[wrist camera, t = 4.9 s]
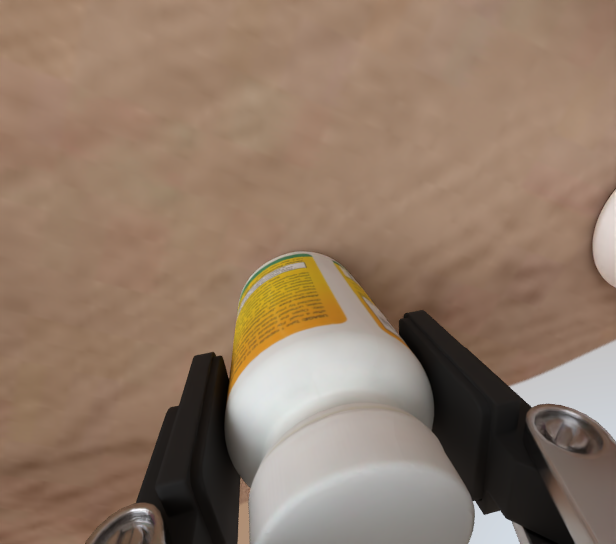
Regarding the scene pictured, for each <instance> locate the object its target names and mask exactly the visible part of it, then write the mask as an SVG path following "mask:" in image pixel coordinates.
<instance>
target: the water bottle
mask: <svg viewBox="0 0 616 544" xmlns="http://www.w3.org/2000/svg"><path fill="white" fill-rule="evenodd" d="M592 247H593V257H594V261H595V265H596V267H597V269H598V271H599V273H600V274H601V276H602V277H603V278H604V279H605V280H606V281H607V282H608V283H609V284H610V285H612V286H614V287H616V189H615V191H614V192H613V193H612V194H611V196H610V197H609V199H608V200H607V202H606V204H605V205H604V207H603V209H602V211H601V213H600V215H599V218H598V220H597V223H596V226H595V230H594V235H593V245H592Z"/></svg>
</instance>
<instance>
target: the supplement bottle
mask: <svg viewBox="0 0 616 544" xmlns="http://www.w3.org/2000/svg"><path fill="white" fill-rule="evenodd" d="M433 419H434V399H433V393H432V389H431V385H430V382H429V379H428V377H427V375H426V372H425V370H424V369H423V367H422V365H421V363H420V362H419V360H418V359H417V358H416V356H415V355H414V354H413V352H412V351H411V350H410V348H409V347H408V346H407V345H406V343H405V342H404V341H403V339H402V338H401V337H400V336H399V334H398V333H397V332H396V330H395V329H394V328H393V327H392V325H391V324H390V323H389V322H388V320H387V319H386V318H385V317H384V315H383V314H382V313H381V312H380V310H379V309H378V308H377V307H376V305H375V304H374V303H373V302H372V300H371V299H370V298H369V297H368V295H367V294H366V293H365V291H364V290H363V289H362V287H361V286H360V285H359V284H358V283H357V281H356V280H355V279H354V278H353V277H352V275H351V274H350V273H349V272H348V271H347V270H346V269H345V268H344V267H343V266H342V265H341V264H340V263H338V262H337V261H335V260H334V259H332V258H330V257H328V256H325V255H322V254H319V253H315V252H305V251H297V252H291V253H288V254H285V255H281V256H279V257H276V258H274V259H272V260H270V261H268V262H267V263H265V264H264V265H262V266H261V267H260V268H258V269H257V270H256V271H255V272H254V273H253V274H252V275H251V277H250V278H249V279H248V281H247V283H246V284H245V286H244V288H243V290H242V293H241V296H240V300H239V306H238V312H237V320H236V327H235V335H234V344H233V353H232V362H231V370H230V378H229V386H228V394H227V402H226V410H225V423H224V430H225V441H226V445H227V450H228V453H229V456H230V459H231V461H232V463H233V465H234V467H235V469H236V471H237V472H238V474H239V475H240V476H241V478H242V479H243V481H244V482H245V483H246V484H247V485H248V486H249V487H250V488H251V489H250V494H249V503H248V504H249V522H250V523H249V526H250V527H249V528H250V544H468V543H469V540H470V537H471V535H472V532H473V526H474V518H475V511H474V505H473V501H472V498H471V495H470V493H469V492H468V490H467V488H466V486H465V484H464V483H463V481H462V479H461V478H460V476H459V474H458V473H457V471H456V470H455V468H454V466H453V465H452V463H451V462H450V460H449V458H448V457H447V455H446V454H445V452H444V450H443V447H442V445H441V443H440V441H439V440H438V438H437V437H436V436H435V435H434V433H433V432H432V425H433Z"/></svg>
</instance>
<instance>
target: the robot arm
mask: <svg viewBox="0 0 616 544" xmlns="http://www.w3.org/2000/svg"><path fill="white" fill-rule="evenodd" d="M399 336H400V337H401V338H402V339H403V341H404V342H405V343H406V345H407V346H408V347H409V348H410V350H411V351H412V352H413V354H414V355H415V356H416V358H417V359H418V360H419V362H420V363H421V365H422V367H423V369H424V370H425V372H426V375H427V377H428V379H429V382H430V385H431V389H432V393H433V399H434V419H433V425H432V432H433V433H434V435H435V436H436V437H437V438H438V440H439V441H440V443H441V445H442V447H443V450H444V452H445V454H446V455H447V457H448V458H449V460H450V462H451V463H452V465H453V466H454V468H455V470H456V471H457V473H458V474H459V476H460V478H461V479H462V481H463V483H464V484H465V486H466V488H467V490H468V492H469V493H470V495H471V498H472V501H476V503H477V504H478V506H479V508H480V509H481V511H482V512H483V514H484V515H485V514H489V513H492V512H496V511H500V510H501V512H502V513H503V515H504V516H505V518H507V519H509V520H511V521H512V524H513V526H514V529H515V531H516V534H517V537H518V539H519V542H520V544H616V441H615V440H614V439H613V438H612V437H611V435H610V434H609V433H608V432H607V431H606V430H605V429H604V428H603V427H602V426H601V425H600V424H599V423H598V422H596V421H595V420H593V419H592V418H590V417H589V416H587V415H586V414H583V413H581V412H579V411H577V410H575V409H572V408H569V407H565V406H562V405H555V404H541V405H537V406H534V407H531V406H530V405H529V404H527V403H526V402H525V401H524V400H523V399H522V398H521V397H520V396H519V395H517V394H516V393H515V392H514V391H513V390H512V389H511V388H510V387H509V386H508V385H506V384H505V383H504V382H503V381H502V380H501V379H500V378H499V377H498V376H497V375H495V374H494V373H493V372H492V371H491V370H490V369H489V368H488V367H487V366H486V365H484V364H483V363H482V362H481V361H480V360H479V359H478V358H477V357H476V356H474V355H473V354H472V353H471V352H470V351H469V350H468V349H467V348H465V347H464V346H462V345H461V344H460V343H459V342H458V341H457V340H456V339H455V338H454V337H453V336H451V335H450V334H449V333H448V332H447V331H446V330H445V329H444V328H443V327H442V326H440V325H439V324H438V323H437V322H436V321H435V320H434V319H433V318H432V317H431V316H430V315H428V314H427V313H426V312H425V311H424V310H420V311H415V312H410V313H405V314H404V318H403V319H400V320H399ZM228 386H229V378H228V375H227V371H226V367H225V364H224V360H223V357H222V356H216V355H215V353H214V352H211V353H206V354H201V355H196V356H194V358H193V361H192V364H191V367H190V371H189V374H188V377H187V381H186V384H185V387H184V391H183V394H182V397H181V401H180V404H179V406H175V407H171V408H169V409H168V411H167V413H166V416H165V419H164V421H163V424H162V427H161V430H160V433H159V436H158V439H157V442H156V445H155V448H154V451H153V454H152V457H151V460H150V463H149V466H148V469H147V471H146V474H145V477H144V480H143V483H142V486H141V489H140V492H139V495H138V498H137V501H136V503H134V504H132V505H129V506H127V507H124V508H122V509H120V510H119V511H117V512H115V513H114V514H112V515H111V516H109V517H108V518H107V519H106V520H105V521H104V522H103V523H102V524H100V525H99V526H98V527H97V528H96V530H95V531H94V532H93V533H92V534H91V536H90V537H89V538H88V539H87V541H86V542H85V544H237V541H238V517H239V493H240V475H239V474H238V472H237V471H236V469H235V467H234V465H233V463H232V461H231V459H230V456H229V453H228V450H227V445H226V441H225V430H224V423H225V410H226V402H227V394H228Z"/></svg>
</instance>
